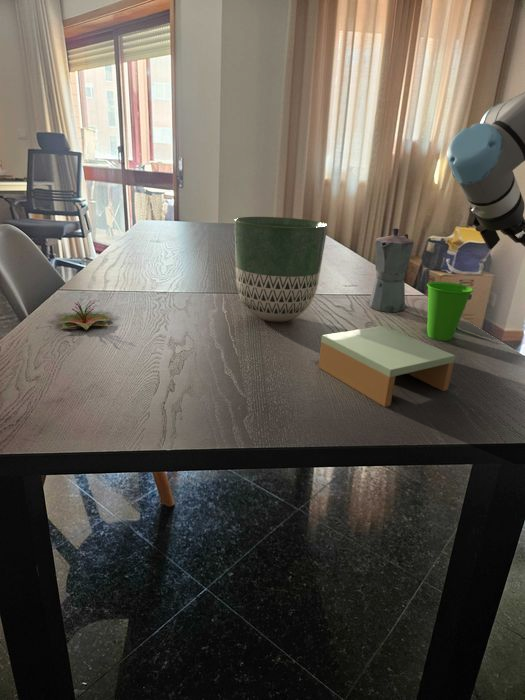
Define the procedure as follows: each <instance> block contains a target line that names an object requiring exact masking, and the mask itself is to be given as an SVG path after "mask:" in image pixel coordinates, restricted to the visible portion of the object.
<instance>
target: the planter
mask: <svg viewBox="0 0 525 700" xmlns="http://www.w3.org/2000/svg"><path fill="white" fill-rule="evenodd" d="M327 231H328V224H327V223H325V222H321V221H317V220H312V219H311V220H310V219H303V218H293V217H281V216H280V217H279V216H242V217H236V218H235V219H234V259H235V263H234V264H235V284H236V289H237V293H238V296H239V299H240V301H241V303H242V304H243V306H244V307H245V308H246V309H247V311H248V312H249V313H250V314H252V315H253V316H254V317H256V318H257V319H260V320H263V321H265V322H271V323H282V322H283V323H284V322H288V321H291V320H294V319H296V318H298V317H299V316H301V315H302V314H304V313H305V311H306V310H308V309H309V307H310V306H311V304H312V302H313V301H314V298H315V296H316V293H317V290H318V287H319V281H320V276H321V269H322V264H323V256H324V251H325V250H324V249H325V244H326V238H327Z"/></svg>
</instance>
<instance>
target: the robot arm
mask: <svg viewBox="0 0 525 700" xmlns="http://www.w3.org/2000/svg"><path fill="white" fill-rule="evenodd" d="M446 158H447V162H448V166H449V168H450V171H451V174H452V176H453V178H454V179H455V180H456V182H457V183H458V186H459V187H460V189H461V191H462V192H463V194H464V196H465V198H466V200H467V202H468V204H469V207H468V212H469V216H468V219H467V222H466V224H467V226H468V227H471V228H472V227H474V229H475V231H476V232H479V234H480V236H481V237H482V239H483V241H484V243H485V244H486V247H487V248H488V249H489V250H493V248H495V246H496V245H497V244H498V243H499V242H500V241H501V238H500V236H499V234H498V232H497V231H500V232H501V233H502V234H503V235H504V236H507V237H509V238H510V239H511V240H512V241H513V242H514V243H516V244H521V245H522V246H523V247H524V248H525V217H524V213H525V201H524V198H523V195H522V193H521V190H520V189H521V188H520V186H519V183H518V181H517V179H516V176H515V174H514V170H515V169H517V168H518V167H519V166H520V165H522V163H524V162H525V91H524V92H521V93H519V94H517V95H515V96H513V97H511V98H509V99H507V100H505V101H501V102H498V103H496V104H494V105H493V106H492V107H490V108H489V109H488V110H487V111H486V112H485V113H484V114H483V116H482V118H481V119H480V122H477V123H473V124H472V125H471V126H470V127H467V128H463V129H461V130H460V131H459V132H458V133H456V134H455V136H453V138H452V140H451V141H450V142H449V145H448V147H447V151H446ZM518 234H519V235H518ZM517 235H518V236H517Z"/></svg>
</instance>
